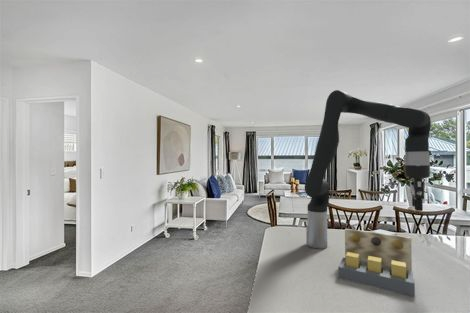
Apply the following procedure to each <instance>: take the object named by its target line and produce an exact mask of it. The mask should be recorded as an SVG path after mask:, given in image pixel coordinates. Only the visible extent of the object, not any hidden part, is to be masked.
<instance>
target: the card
mask: <svg viewBox="0 0 470 313" xmlns="http://www.w3.org/2000/svg"><path fill="white" fill-rule="evenodd" d="M347 252H351V253H356V254H359V261H364V262H368V256H372V257H378V258H381V263H382V265H384V266H389V267H391V262H392V260H394V261H399V262H405V263H406V270H409V271H413V270H412V269H413V267H412V266H413V265H412V262H413V261H412V260H413V259H412V252H413V251H412V237H408V236H401V235H397V236H395V235H388V234H381V233H373V232H370V231H366V230H365V231H364V230H358V229H350V228H345V229H344V258H346V254H347Z"/></svg>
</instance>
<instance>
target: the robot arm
mask: <svg viewBox="0 0 470 313" xmlns="http://www.w3.org/2000/svg"><path fill="white" fill-rule="evenodd" d="M342 113H346V114H356V115H360V116H365V117H367V118H370V119H373V120H377V121H381V122H385V123H388V124H395V125H398V126H401V127H404V128H408V132H407V133H408V134H407V137H406V138H405V142H404V158H403V159H404V160H403V161H404V177H406V178H411V179H410V181H409V186H410V189H409V190H410V193H411V194H410V195H411V199H412V200H411V206H412V207H414V209H415V211H418V212H419V211H420V212H421V211H423V207H424V205H423V204H424V203H423V201H424V199H425V186H426V185H425V182H424V181H423V179H425V178H426V179H427V178H430V177H431V161H430V160H431V159H430V148H429V147H430V145H429V144H430V143H429V142H430V141H429V138H430V133H431V132H430V131H431V123H432V122H431V121H432V120H431V116H430V115H429V114H428V112H425V111H423V110H421V109H419V108H413V107H405V106H399V105H396V104H390V103H386V102H381V101H371V100H364V99H361V98H358V97H355V96H353V95H351V94H349V93H348V92H345V91H343V90H337V89H336V90H333V91H332V92H330V93H329V95H328V96H327V99H326V103H325V109H324V115H323V121H322V124H321V127H320V128H321V129H320V133H319V135H318V136H319V137H318V140H317V143H316V147H315V152H314V154H313V160H312V163H311V166H310V170H309V172H308V175H307V178H306V181H305V183H304V192H305V194H306V195H307V197H309V198H310V201H309V203H308V204H307V225H306V229H305V232H306V233H305V234H306V235H305V236H306V240H305V241H306V243H305V244H306V246H308V247H310V248H314V249H319V250H320V249H321V250H322V249H327V248H328V244H329V243H328V206H329V204H330V186H329V183H328V181H327V180H326V179H325V174H326V172H327V170H328V168H329V167H330V165H331V163H332V162H333V160H334V158H335V157H336V155H337V150H338V147H339V143H340V133H339V121H340V117H341V114H342Z"/></svg>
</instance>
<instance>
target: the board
mask: <svg viewBox="0 0 470 313" xmlns="http://www.w3.org/2000/svg"><path fill="white" fill-rule="evenodd" d="M337 268H338V270H337V271H338V273H337V274H338V276H337V277H338V278H337V279H341V280H345V281H349V282H353V283H358V284H362V285H366V286H369V287H375V288H378V289H382V290H386V291H391V292H394V293H399V294H403V295H407V296H411V297H416V294H415V292H416V290H415V289H416V288H415V287H416V286H415V285H416V284H415V278H414V272H413V270H412V271H409V270H406V278H401V277H397V276H392V268H391V267H389V266H384V265H382V273H378V272H373V271H369V270H368V262H364V261H359V268H355V267H350V266H346V258H345V257H342V259H341V261H340V262H339V265H338V267H337Z"/></svg>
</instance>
